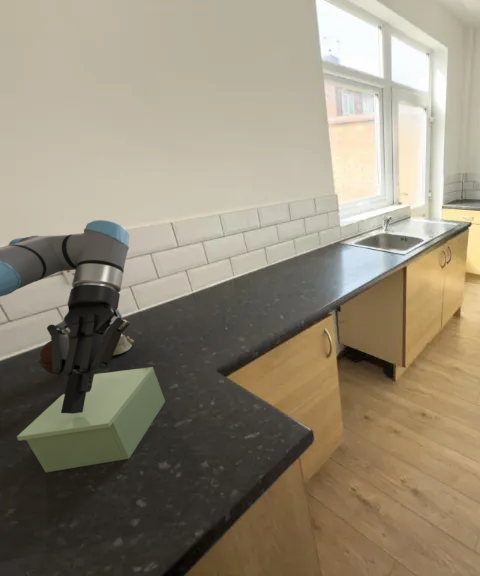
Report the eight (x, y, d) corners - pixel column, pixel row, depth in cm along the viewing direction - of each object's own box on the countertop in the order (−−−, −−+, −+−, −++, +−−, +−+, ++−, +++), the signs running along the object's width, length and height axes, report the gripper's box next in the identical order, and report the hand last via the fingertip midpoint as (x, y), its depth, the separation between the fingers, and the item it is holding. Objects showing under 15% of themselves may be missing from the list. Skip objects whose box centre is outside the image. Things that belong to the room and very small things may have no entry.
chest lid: (109, 427, 56) (107, 423, 55) (18, 440, 53) (16, 436, 53) (154, 370, 71) (152, 366, 70) (84, 378, 68) (82, 375, 68)
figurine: (142, 344, 98) (120, 283, 91) (114, 359, 91) (88, 295, 83) (121, 340, 100) (98, 281, 93) (92, 355, 93) (64, 292, 86)
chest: (129, 458, 60) (113, 422, 56) (45, 472, 57) (23, 436, 54) (165, 401, 74) (154, 370, 71) (99, 410, 72) (84, 379, 68)
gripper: (142, 294, 70) (126, 407, 61) (74, 300, 67) (47, 419, 58) (120, 279, 63) (98, 405, 54) (44, 286, 61) (7, 418, 52)
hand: (71, 412), depth 56 cm, fingers closed
